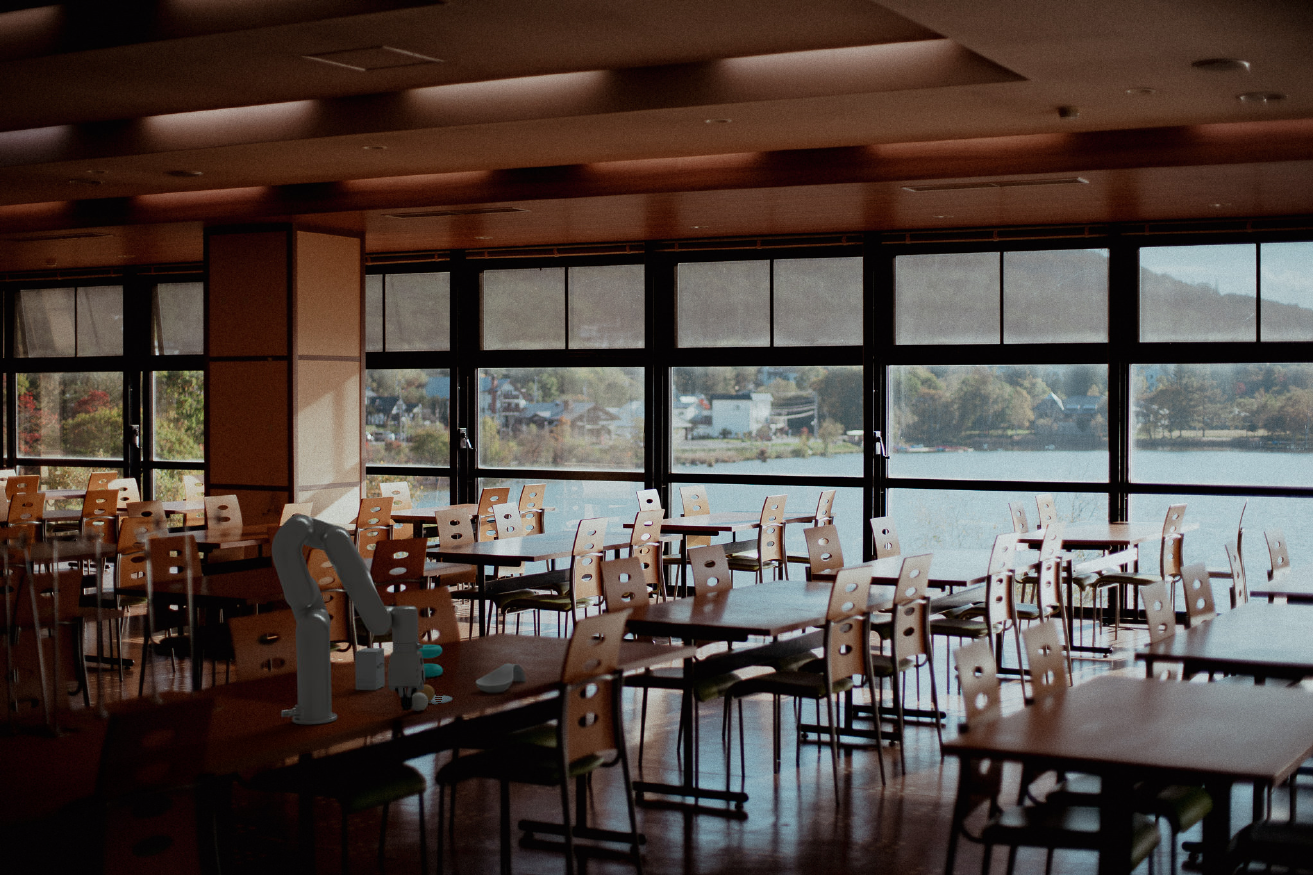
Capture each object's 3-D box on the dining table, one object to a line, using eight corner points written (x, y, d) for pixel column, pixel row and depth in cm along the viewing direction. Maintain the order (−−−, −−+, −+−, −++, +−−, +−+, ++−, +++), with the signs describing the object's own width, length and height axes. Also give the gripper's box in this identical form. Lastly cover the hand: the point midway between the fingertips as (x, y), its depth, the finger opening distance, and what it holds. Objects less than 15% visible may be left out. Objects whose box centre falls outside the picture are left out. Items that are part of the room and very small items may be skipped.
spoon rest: (502, 696, 422) (501, 673, 422) (469, 694, 426) (468, 672, 426) (534, 682, 444) (534, 661, 444) (503, 680, 448) (502, 659, 448)
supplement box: (376, 690, 434) (375, 651, 434) (355, 690, 436) (354, 651, 436) (385, 686, 442) (384, 647, 442) (364, 685, 443) (363, 647, 443)
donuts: (421, 643, 466) (447, 644, 463) (422, 672, 466) (447, 673, 463) (407, 648, 457) (433, 649, 453) (407, 677, 457) (434, 678, 453)
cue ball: (426, 688, 404) (423, 704, 406) (409, 688, 401) (405, 704, 403) (432, 698, 400) (428, 714, 401) (414, 698, 397) (410, 714, 399)
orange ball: (425, 677, 415) (428, 689, 419) (411, 688, 412) (415, 700, 416) (436, 686, 412) (439, 698, 415) (422, 697, 409) (426, 709, 413)
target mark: (416, 706, 407) (416, 706, 407) (400, 699, 419) (400, 698, 419) (459, 701, 415) (459, 700, 415) (442, 693, 427) (442, 693, 427)
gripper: (433, 645, 399) (435, 707, 399) (385, 645, 401) (387, 706, 401) (425, 650, 391) (427, 712, 391) (376, 649, 394) (378, 712, 394)
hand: (406, 709), depth 396 cm, fingers closed
